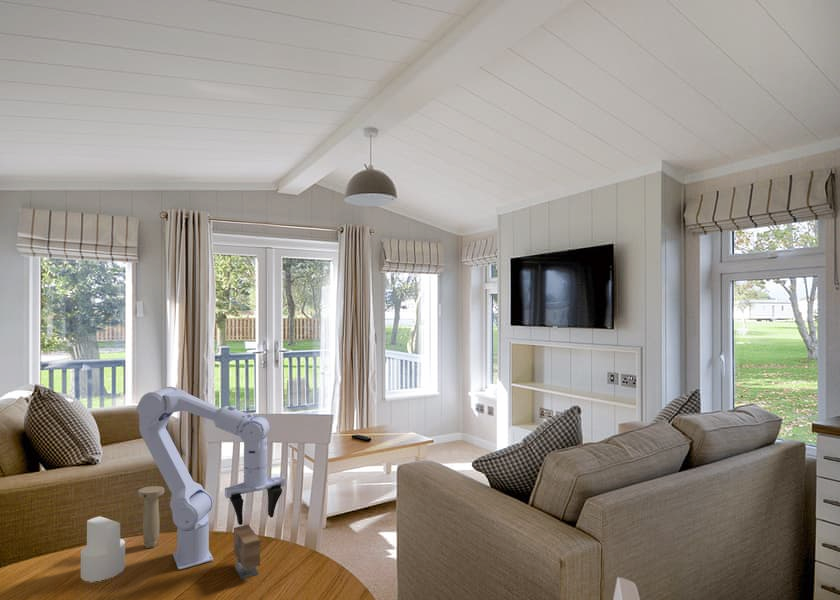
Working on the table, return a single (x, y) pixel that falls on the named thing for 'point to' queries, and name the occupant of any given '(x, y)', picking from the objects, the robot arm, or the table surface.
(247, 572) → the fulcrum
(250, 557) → the rectangular block
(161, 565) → the table surface
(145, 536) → the handle
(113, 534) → the cylinder with rectangular tab
